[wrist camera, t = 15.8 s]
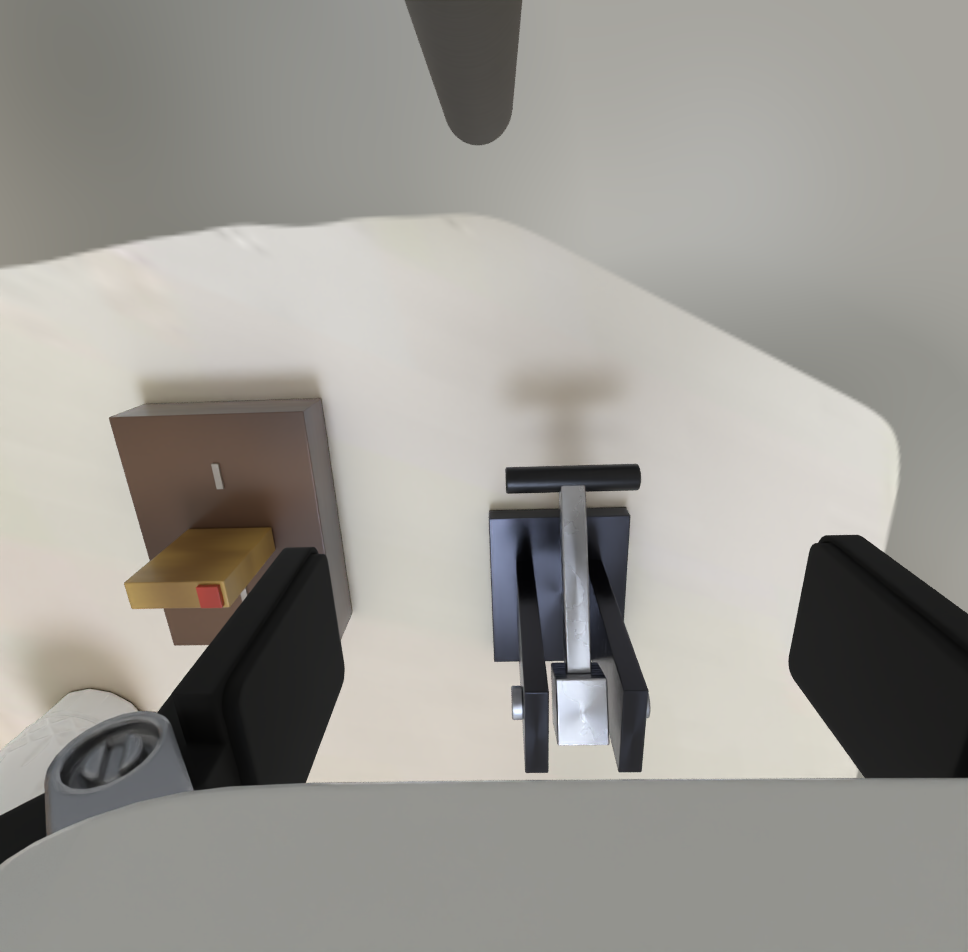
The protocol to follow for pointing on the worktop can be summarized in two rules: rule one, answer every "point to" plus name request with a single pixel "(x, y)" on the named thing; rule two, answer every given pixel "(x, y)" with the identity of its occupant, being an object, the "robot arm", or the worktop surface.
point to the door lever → (576, 594)
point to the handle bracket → (539, 623)
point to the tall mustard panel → (201, 569)
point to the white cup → (51, 742)
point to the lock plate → (232, 486)
